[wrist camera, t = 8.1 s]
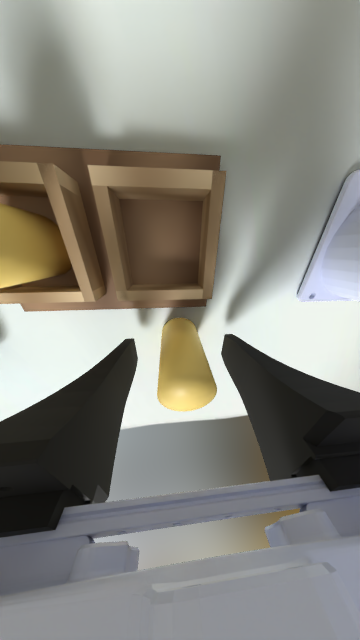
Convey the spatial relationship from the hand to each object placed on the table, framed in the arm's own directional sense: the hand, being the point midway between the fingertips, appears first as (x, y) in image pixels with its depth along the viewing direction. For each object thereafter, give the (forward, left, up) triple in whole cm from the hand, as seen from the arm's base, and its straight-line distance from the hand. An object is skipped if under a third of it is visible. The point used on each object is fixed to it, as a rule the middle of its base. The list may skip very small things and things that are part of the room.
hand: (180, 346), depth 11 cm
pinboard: (+4, -7, -2) cm, 8 cm away
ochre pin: (0, 0, -2) cm, 2 cm away
